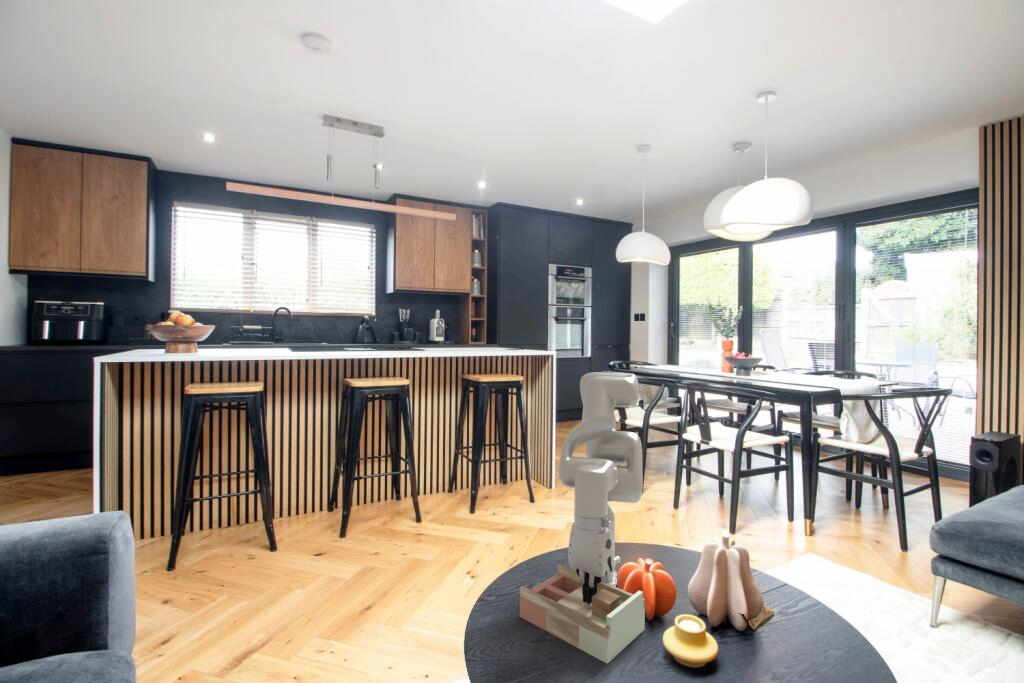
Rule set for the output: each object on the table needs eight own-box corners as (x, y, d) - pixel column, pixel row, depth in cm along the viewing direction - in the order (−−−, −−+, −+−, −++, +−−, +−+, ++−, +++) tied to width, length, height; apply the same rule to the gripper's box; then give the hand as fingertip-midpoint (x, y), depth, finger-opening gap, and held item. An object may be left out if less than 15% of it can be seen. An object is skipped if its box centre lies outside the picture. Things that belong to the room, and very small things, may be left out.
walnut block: (602, 606, 110) (602, 588, 110) (620, 614, 107) (620, 596, 107) (591, 614, 107) (591, 596, 107) (609, 622, 104) (609, 604, 104)
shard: (753, 633, 110) (753, 625, 110) (721, 617, 116) (722, 610, 116) (775, 616, 116) (775, 609, 116) (744, 602, 122) (744, 595, 122)
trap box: (560, 591, 126) (560, 556, 126) (644, 629, 110) (645, 590, 110) (519, 616, 114) (520, 578, 114) (607, 663, 98) (608, 620, 98)
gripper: (628, 525, 108) (627, 607, 107) (573, 508, 118) (572, 583, 118) (610, 534, 102) (609, 621, 102) (554, 516, 112) (553, 595, 112)
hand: (589, 600), depth 110 cm, fingers closed
